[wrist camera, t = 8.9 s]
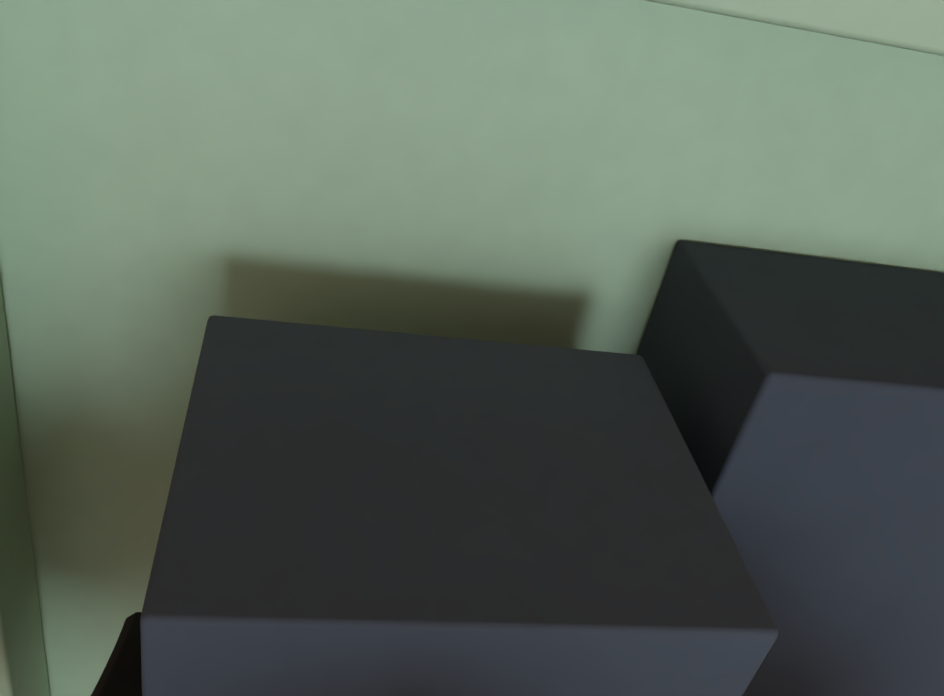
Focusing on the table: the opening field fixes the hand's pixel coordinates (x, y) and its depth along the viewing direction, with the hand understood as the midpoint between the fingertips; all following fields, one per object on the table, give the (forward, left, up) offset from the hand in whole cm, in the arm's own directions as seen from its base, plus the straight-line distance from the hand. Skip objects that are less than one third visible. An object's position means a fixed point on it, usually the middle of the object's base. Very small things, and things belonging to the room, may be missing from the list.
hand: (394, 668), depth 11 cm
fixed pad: (0, -6, -3) cm, 7 cm away
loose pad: (0, 0, -1) cm, 1 cm away
